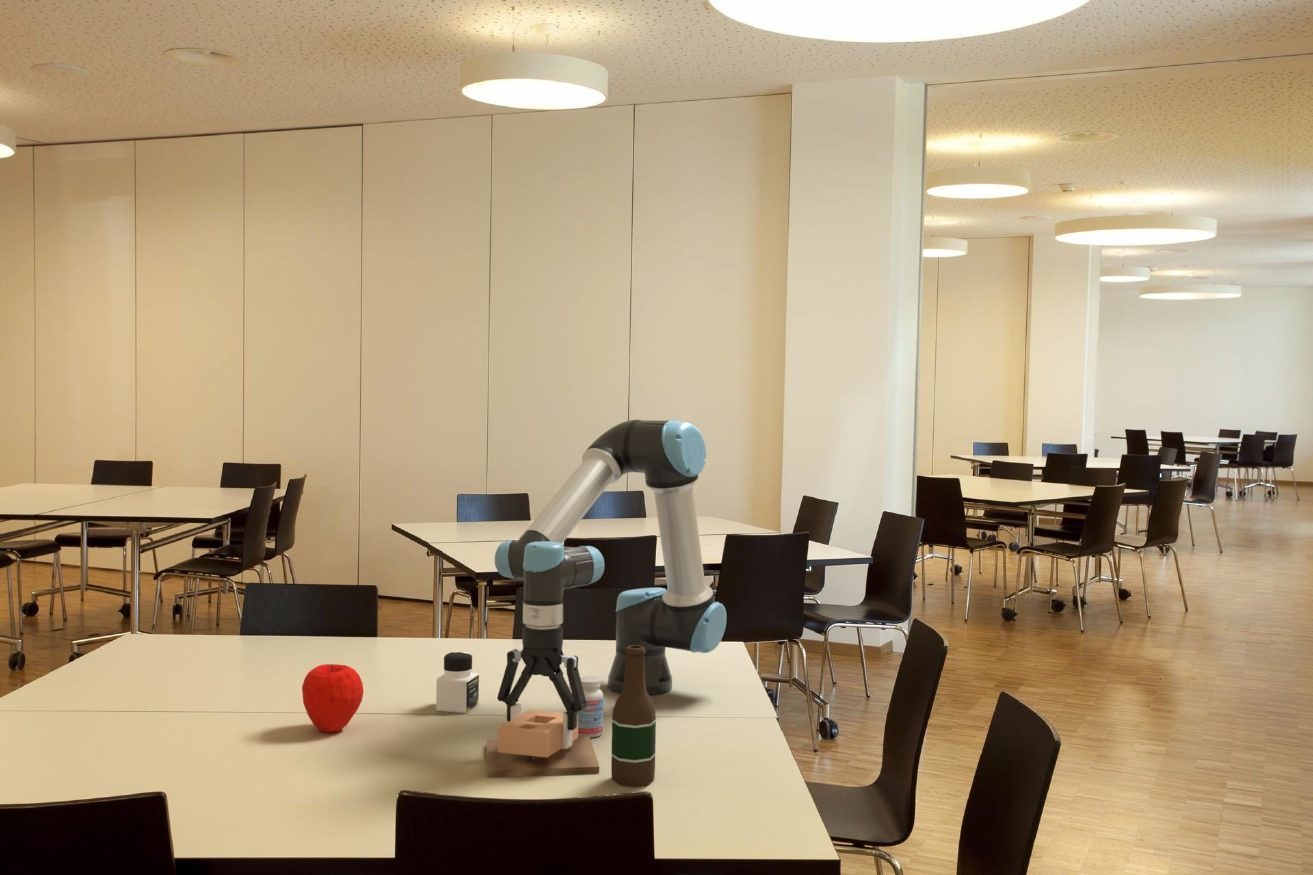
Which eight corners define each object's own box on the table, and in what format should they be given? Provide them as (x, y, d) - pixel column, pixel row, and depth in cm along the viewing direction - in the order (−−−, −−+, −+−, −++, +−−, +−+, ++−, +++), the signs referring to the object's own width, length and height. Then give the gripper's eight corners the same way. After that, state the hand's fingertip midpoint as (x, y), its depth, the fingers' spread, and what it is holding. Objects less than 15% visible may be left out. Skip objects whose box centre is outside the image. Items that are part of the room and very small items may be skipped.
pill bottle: (580, 740, 219) (581, 684, 218) (568, 731, 224) (568, 676, 224) (607, 736, 221) (608, 680, 221) (595, 728, 227) (596, 673, 226)
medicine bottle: (467, 713, 235) (467, 658, 235) (435, 711, 237) (436, 655, 236) (479, 704, 242) (479, 650, 242) (448, 702, 244) (449, 648, 243)
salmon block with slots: (531, 732, 214) (530, 709, 214) (578, 737, 210) (577, 714, 210) (497, 752, 202) (497, 727, 201) (547, 757, 198) (546, 732, 198)
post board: (589, 742, 217) (589, 710, 217) (599, 772, 200) (599, 739, 200) (486, 745, 214) (487, 713, 214) (487, 777, 197) (487, 742, 196)
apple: (374, 725, 226) (374, 660, 226) (340, 741, 215) (340, 673, 215) (325, 718, 230) (325, 655, 230) (289, 734, 219) (289, 667, 218)
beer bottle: (610, 772, 200) (612, 641, 199) (653, 772, 201) (655, 641, 200) (612, 788, 192) (614, 651, 191) (656, 787, 193) (659, 651, 192)
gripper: (479, 623, 207) (477, 740, 207) (590, 634, 199) (588, 756, 199) (498, 616, 214) (497, 729, 214) (606, 626, 206) (604, 744, 206)
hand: (541, 742), depth 207 cm, fingers closed on salmon block with slots, 10 cm apart
